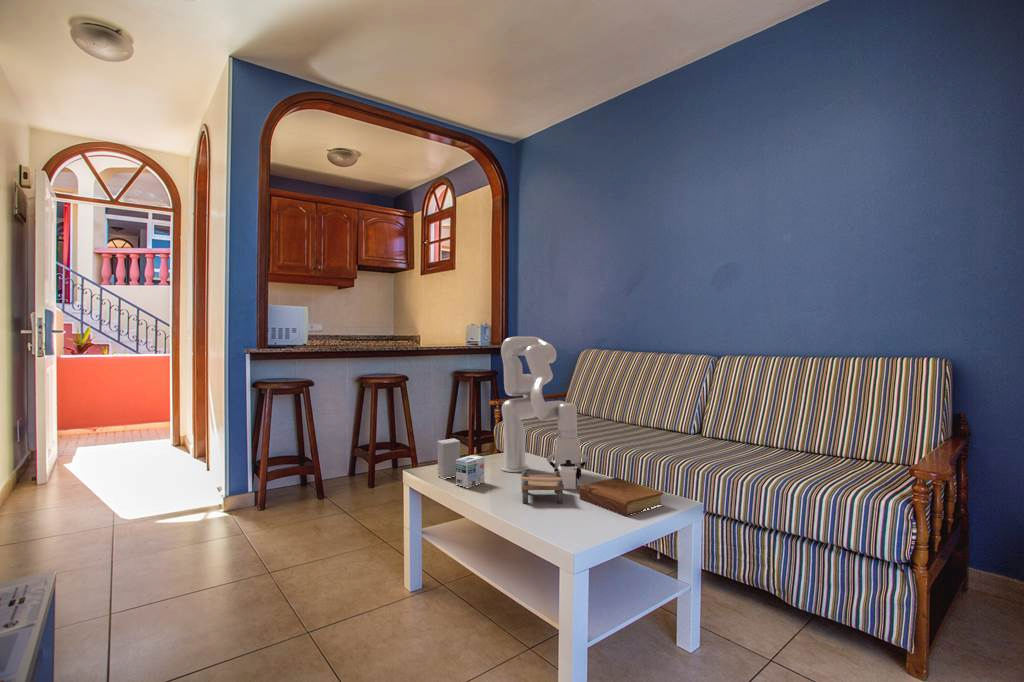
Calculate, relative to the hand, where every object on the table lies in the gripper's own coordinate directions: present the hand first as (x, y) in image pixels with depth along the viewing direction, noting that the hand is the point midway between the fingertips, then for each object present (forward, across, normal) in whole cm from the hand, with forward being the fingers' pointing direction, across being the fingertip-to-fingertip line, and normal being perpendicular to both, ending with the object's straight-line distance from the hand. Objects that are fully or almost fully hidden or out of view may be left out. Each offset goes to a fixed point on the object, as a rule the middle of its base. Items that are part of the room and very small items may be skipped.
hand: (567, 478), depth 209 cm
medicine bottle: (+4, 0, 0) cm, 4 cm away
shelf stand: (+3, -11, -14) cm, 18 cm away
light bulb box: (+4, -39, +4) cm, 39 cm away
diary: (+4, +17, -20) cm, 26 cm away
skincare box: (+4, -49, +15) cm, 51 cm away
